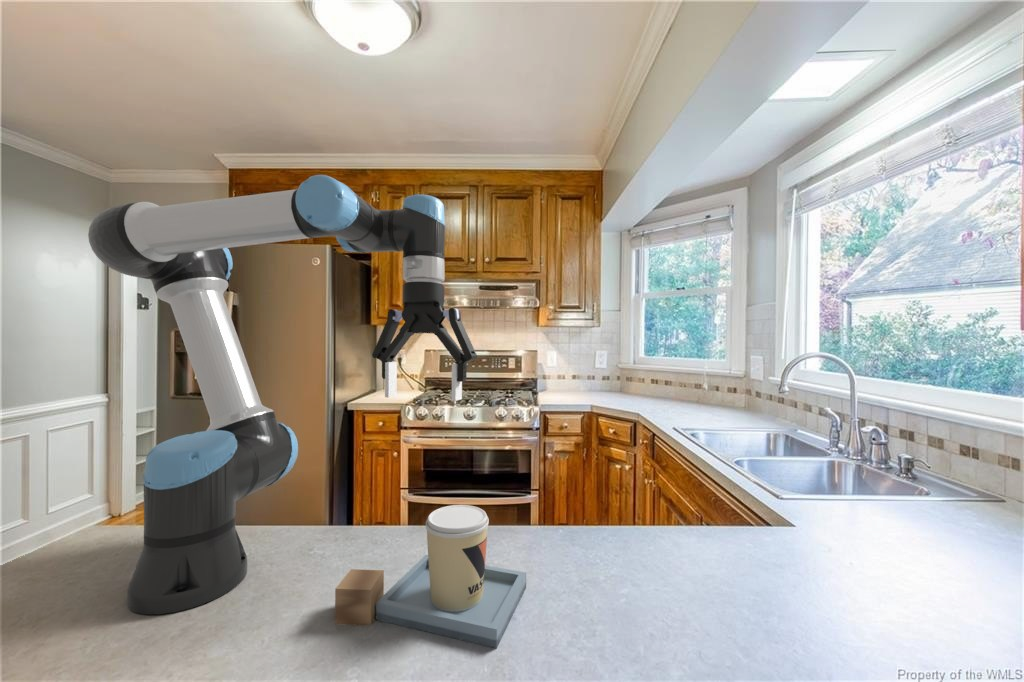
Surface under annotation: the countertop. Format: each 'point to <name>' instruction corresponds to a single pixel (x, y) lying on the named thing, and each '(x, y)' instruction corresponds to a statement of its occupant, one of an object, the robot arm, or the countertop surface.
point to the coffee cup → (457, 556)
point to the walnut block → (358, 597)
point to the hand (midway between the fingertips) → (422, 398)
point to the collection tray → (476, 625)
